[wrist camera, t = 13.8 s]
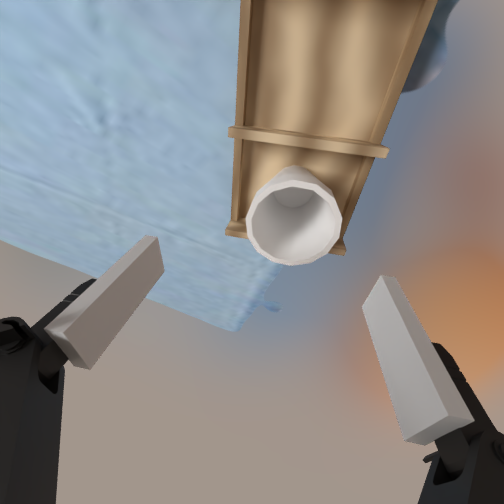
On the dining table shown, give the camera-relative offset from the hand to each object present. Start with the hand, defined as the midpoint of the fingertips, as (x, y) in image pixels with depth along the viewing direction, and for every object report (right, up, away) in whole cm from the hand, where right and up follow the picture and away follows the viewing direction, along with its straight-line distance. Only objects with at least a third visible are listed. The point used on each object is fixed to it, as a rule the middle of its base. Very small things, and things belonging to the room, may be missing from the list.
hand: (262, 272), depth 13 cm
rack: (+6, +17, +16) cm, 24 cm away
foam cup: (+6, +11, +19) cm, 23 cm away
